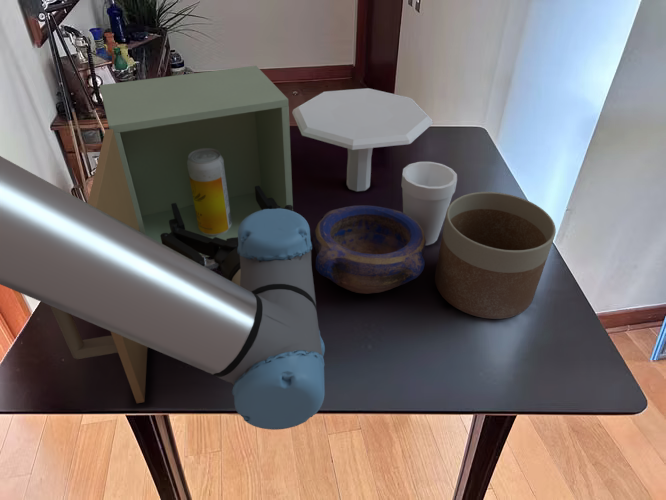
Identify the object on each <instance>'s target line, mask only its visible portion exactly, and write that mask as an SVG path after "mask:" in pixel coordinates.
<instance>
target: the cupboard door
mask: <svg viewBox="0 0 666 500" xmlns="http://www.w3.org/2000/svg"><path fill="white" fill-rule="evenodd" d="M87 203H88V204H90V205H91V206H93V207H95V208H97V209H99V210H101V211H103V212H104V213H106V214H108V215H110V216H112V217H114V218H115V219H117V220H119V221H121V222H123V223H125V224H127V225H128V226H130V227H132V228H134V229H136V230H138V231H139V232H140V229H139V225H138V221H137V217H136V214H135V210H134V206H133V202H132V199H131V195H130V191H129V187H128V184H127V180H126V176H125V172H124V168H123V165H122V161H121V157H120V153H119V150H118V146H117V142H116V138H115V135H114V131H113V129H109V128H108V129H107V128H106V129H105V130H104V135H103V138H102V144H101V147H100V150H99V155H98V159H97V163H96V167H95V171H94V175H93V180H92V184H91V188H90V192H89V196H88V200H87ZM49 307H50V309H51V312H52V313H53V316H54V318H55V320H56V322H57V325H58V328H59V329H60V331H61V333H62V336H63V337H64V341H65V342H66V345H67V347H68V349H69V352H70V354H71V356H72V358H73V359H75V360H82V359H88V358H93V357H94V358H95V357H99V356H106V355H111V354H118V356H119V358H120V361H121V364H122V367H123V370H124V372H125V375H126V378H127V381H128V383H129V386H130V389H131V392H132V395H133V398H134V400H135V403H136V404H142V403H145V401H146V383H147V381H146V379H147V363H148V362H147V361H148V347H147V346H144V345H142V344H140V343H137V342H135V341H133V340H130V339H128V338H126V337H123V336H121V335H118V334H116V333H114V332H111V331H110V334H111V335H105V336H100V337H99V336H98V337H93V338H85V339H83V338H82V336H81V334H80V332H79V329H78V327H77V325H76V322H75V320H74V318H73V317H74V316H73V315H71V314H69V313H67V312H64V311H62V310H59V309H57V308H55V307H52V306H50V305H49Z"/></svg>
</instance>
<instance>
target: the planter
mask: <svg viewBox="0 0 666 500" xmlns="http://www.w3.org/2000/svg"><path fill="white" fill-rule="evenodd" d="M556 229H557V228H556V224H555V222H554V220H553V219H552V217H551V216H550V215H549V214H548V213H547V212H546V211H545V210H544V209H543V208H542V207H540V206H539V205H537V204H535V203H533V202H531V201H530V200H527V199H525V198H522V197H519V196H516V195H514V194H509V193H503V192H495V191H477V192H470V193H467V194H464V195H461V196H459V197H457V198H455V199H454V200H453V201H451V202H450V204H449V207H448V209H447V212H446V216H445V219H444V222H443V229H442V235H441V240H440V245H439V252H438V258H437V262H436V267H435V273H434V283H435V286H436V289H437V291H438V293H439V294H440V295H441V297H442V298H443V299H444V300H445V301H446V302H447V303H448V304H449V305H450V306H452V307H454V308H455V309H457V310H459V311H461V312H463V313H466V314H468V315H470V316H474V317H478V318H483V319H491V320H492V319H493V320H497V319H498V320H499V319H500V320H501V319H508V318H513V317H516V316H518V315H520V314H523V312H525V311H526V310H527V309H529V307H530V306H531V304H532V303H533V300H534V298H535V294H536V292H537V289H538V286H539V283H540V280H541V278H542V275H543V272H544V268H545V266H546V263H547V260H548V257H549V254H550V251H551V249H552V246H553V243H554V239H555V237H556V233H557V231H556Z"/></svg>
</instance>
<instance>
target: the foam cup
mask: <svg viewBox="0 0 666 500" xmlns="http://www.w3.org/2000/svg"><path fill="white" fill-rule="evenodd" d="M457 183H458V174H457V172H456V171H454V169H453V168H451V167H449V166H447V165H445V164H444V163H439V162H435V161H417V162H413V163H408V164H407V165H406V166H405V167H403V168H402V175H401V185H400V186H401V188H402V189H401V191H402V212H403V213H404V214H406V215H408V216H409V217H411V218H412V219H413V220H415V221H416V222H417V223H418V224H419V225H420V227H421V228H422V230H423V232H424V236H425V240H426V244H425V246H430V245H433V244H435V243H436V242H437V241H438V239H439V236H440V234H441V231H442V227H443V226H444V223H445V217H446V212H447V209H448V207H449V205H450V204H451V202H452V198H453V196H454V194H455V193H456V188H457Z"/></svg>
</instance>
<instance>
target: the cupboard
mask: <svg viewBox="0 0 666 500" xmlns="http://www.w3.org/2000/svg"><path fill="white" fill-rule="evenodd" d="M99 91H100V94H101V98H102V104H103V107H104V112H105V116H106V121H107V125H108V129H113V131H114V135H115V138H116V142H117V146H118V150H119V153H120V157H121V161H122V165H123V168H124V172H125V176H126V180H127V184H128V187H129V191H130V195H131V199H132V202H133V206H134V210H135V214H136V217H137V221H138V225H139V229H140V232H141V233H143V234H145V235H147V236H149V237H150V238H152V239H154V240H156V241H158V242H160V243H162V241H161V237H160V235H161V234H162V233H168V234H169V233H171V230H170V225H169V220H171V219H174V215H173V210H172V205H171V204H172V203H176V204H177V207H178V209H179V212H180V215H181V217H182V220H183V223H184V226H185V230H187V231H190V232H194V233H197V234H200V235H203V236H206V237H209V238H212V239H213V238H214V237H217V238H220V239H223V240H226V239H228V238H235V237H238V228H239V226H240V224H241V222H242V221H243V220H244V219H245V218H246V217H248V216H249V215H251V214H252V213H255V212H257V211H260V210H262V209H261V208H260V206H259V204H258V203H257V201H256V194H255V186H260V188H261V189H262V191H263V192H264V194H265V195H266V197H267V198H273V199H274V200H275V202H276V203H277V205H278V206H280V207H281V208H285V206H286V205H292V206H293V207H294V201H293V179H292V175H293V174H292V155H291V154H292V153H291V129H290V107H289V98H288V97H287V96H286V95H285V94H284V93H283V92H282V91H281V90H280V89H279V88H278V87H277V86H276V85H275V84H274V82H272V80H271V79H270V78H269V77H268V76H267V75H266V74H265V73H264V72H263V71H262V70H261V68H259V67H258V66H257V65H251V66H243V67H234V68H226V69H218V70H210V71H202V72H194V73H185V74H178V75H177V74H176V75H170V76H163V77H154V78H145V79H138V80H137V79H136V80H129V81H122V82H113V83H106V84H105V83H104V84H99ZM203 148H211V149H215V150H217V151H219V152H220V155H221V156H222V158H223V160H224V168H225V175H226V183H227V191H228V198H229V206H230V213H231V221H232V225H231V227H230V228H229V230H228V231H227V232H226V233H224V234H222V235H219V236H208V235H206V234H204V233H203V232H202V231H200V230H199V228H198V222H197V217H196V211H195V206H194V200H193V195H192V189H191V184H190V178H189V173H188V167H187V160H188V155H189V154H190V153H191V152H193V151H195V150H198V149H203ZM219 248H220V247H219ZM199 254H200V255H204V254H201V253H199ZM205 257H206V258H209V257H210V256H207V255H205ZM210 258H211V257H210Z"/></svg>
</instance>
